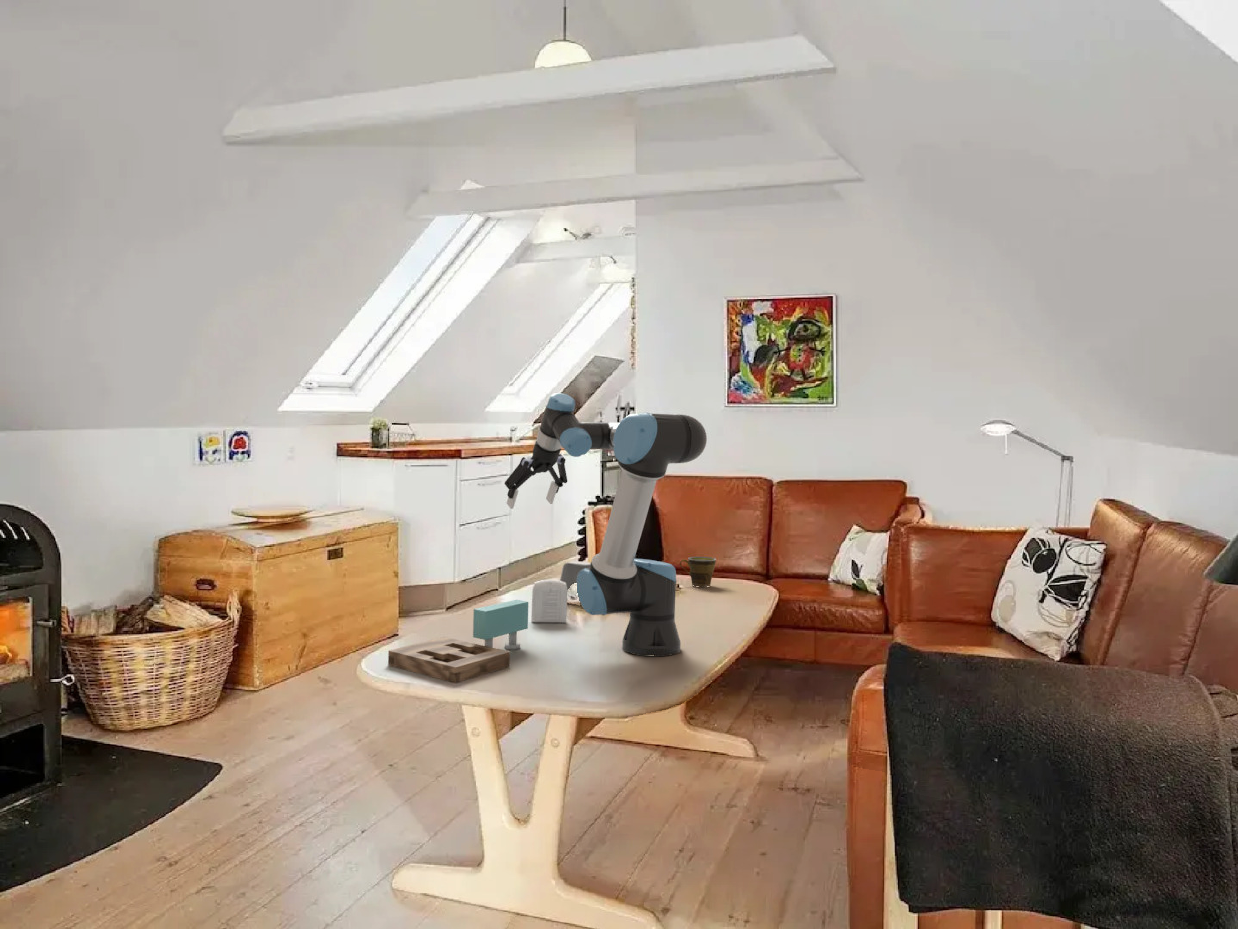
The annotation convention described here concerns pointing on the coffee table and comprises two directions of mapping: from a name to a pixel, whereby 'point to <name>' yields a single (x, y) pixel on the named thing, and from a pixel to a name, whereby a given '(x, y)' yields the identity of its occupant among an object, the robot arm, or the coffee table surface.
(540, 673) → the coffee table surface
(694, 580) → the ceramic cup
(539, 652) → the coffee table surface
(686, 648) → the coffee table surface
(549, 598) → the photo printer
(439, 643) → the keyhole board
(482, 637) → the block with headed pegs
